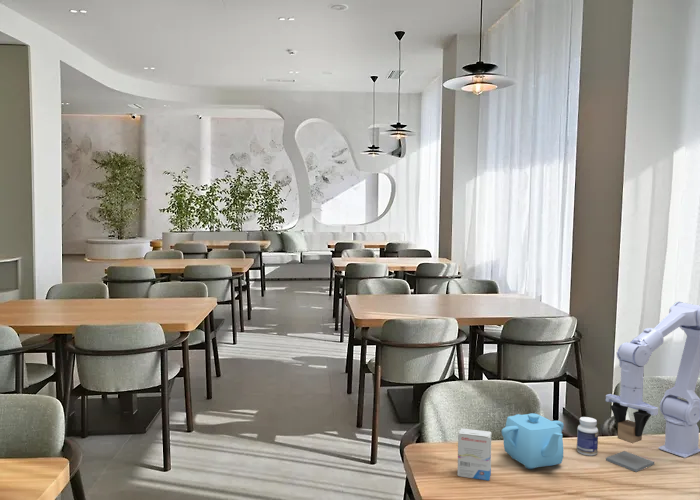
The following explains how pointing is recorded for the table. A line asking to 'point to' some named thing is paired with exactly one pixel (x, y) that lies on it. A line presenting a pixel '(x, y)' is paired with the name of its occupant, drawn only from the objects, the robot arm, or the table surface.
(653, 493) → the table surface
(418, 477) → the table surface
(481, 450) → the ink box
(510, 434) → the teapot
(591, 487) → the table surface
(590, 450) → the pill bottle
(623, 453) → the slate coaster
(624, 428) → the walnut cube
